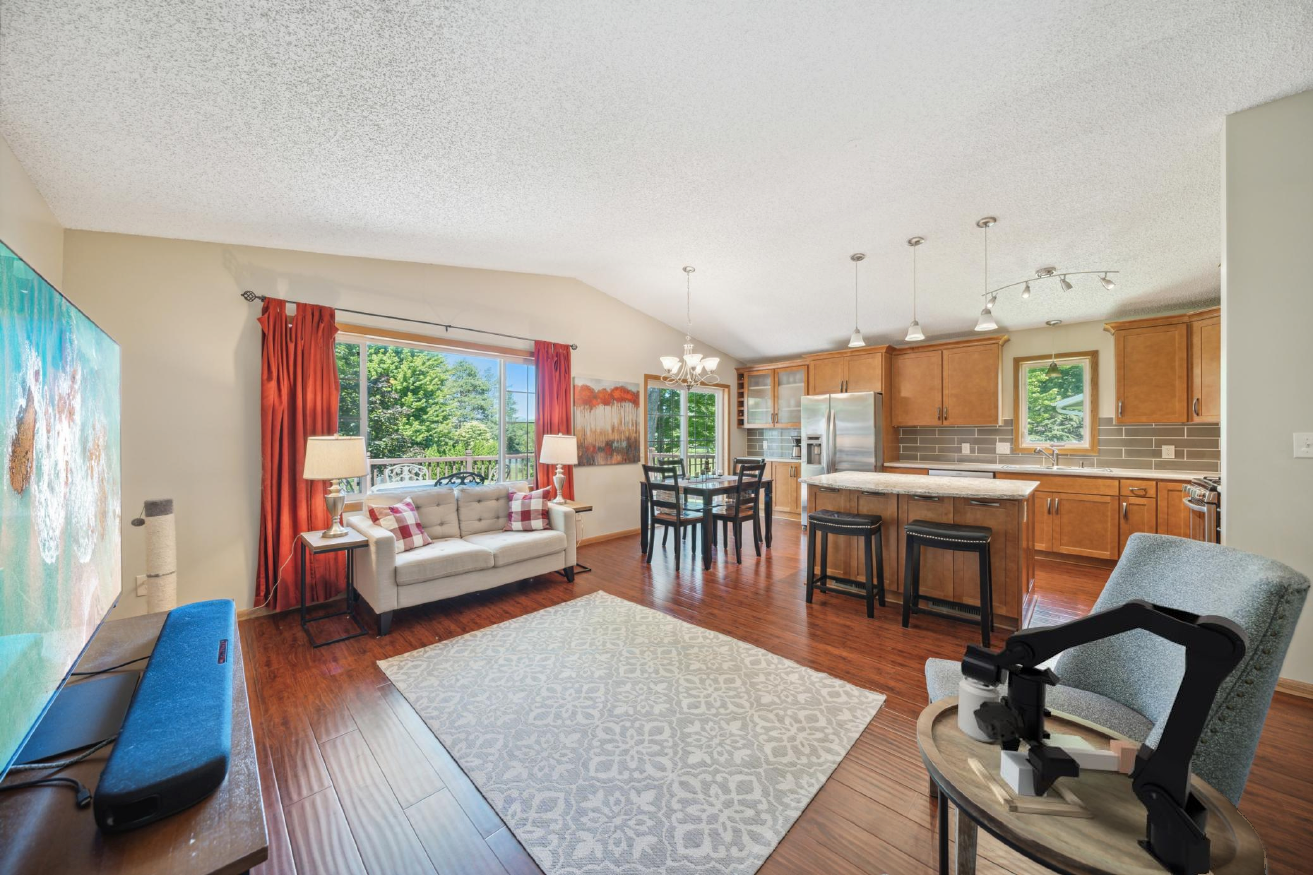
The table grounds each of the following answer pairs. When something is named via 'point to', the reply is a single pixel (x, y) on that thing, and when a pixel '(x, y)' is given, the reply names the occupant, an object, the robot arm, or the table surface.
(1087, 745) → the mat
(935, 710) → the table surface
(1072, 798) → the wooden u frame
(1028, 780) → the block
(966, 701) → the can
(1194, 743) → the robot arm
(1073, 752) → the bar
